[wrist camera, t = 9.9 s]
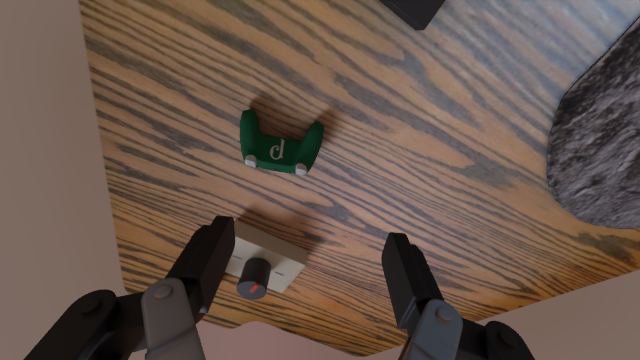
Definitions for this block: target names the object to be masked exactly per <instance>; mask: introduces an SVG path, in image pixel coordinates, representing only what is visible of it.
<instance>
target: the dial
mask: <svg viewBox="0 0 640 360" xmlns="http://www.w3.org/2000/svg"><path fill="white" fill-rule="evenodd" d="M270 273H271V265H270V263H269V262H268V261H266V260H265V259H262V258H251V259H249V260H247V261H246V262H245V265H244V268H243V271H242V274H241V277H240V280H239V283H238V285H237V292H238V293H239V294H240V295H241V296H243V297H245V298H248V299H260V298H262V297H264V296H265V294H266V291H267V286H268V282H269V277H270Z"/></svg>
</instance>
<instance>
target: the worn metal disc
mask: <svg viewBox="0 0 640 360" xmlns="http://www.w3.org/2000/svg"><path fill="white" fill-rule="evenodd" d="M547 178H548V180H549V187H550V188H551V189H552V190H553V192H554V197H555V200H556V201H557V202H558V203H560V204H561V205H562V207H563V208H564V209H566V210H567V211H569V212H571V213H572V215H573V216H574V217H576V218H577V219H579V220H581V221H584V222H585V223H590V224H592V225H597V226H604V227H610V228H615V229H634V228H640V17H639V18H638V19H637V20H636V21H635V22H634V23H633V24H632V26H631V27H630V28H629V29H628V30H627V31H626V32H625V33H624V34H623V35H622V36H621V37H620V39H619V40H618V41H617V42H616V43H615V44H614V45H613V46H612V47H611V48H610V50H609V51H608V52H607V53H606V54H605V55H604V56H603V57H602V58H601V59H600V60H599V61H598V62H597V63H596V64H595V65H594V66H593V67H592V68H591V69H590V70H589V71H588V72H587V73H585V74H584V75H583V76H582V77H581V78H580V79H579V80H578V81H577V82H576V83H575V84H574V85H573V86H572V87H571V88H570V90H569V91H568V92H567V93H566V94H565V96H564V97H563V98H562V99H561V102H560V104H559V107H558V109H557V112H556V114H555V116H554V119H553V126H552V129H551V131H550V137H549V143H548V159H547Z"/></svg>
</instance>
